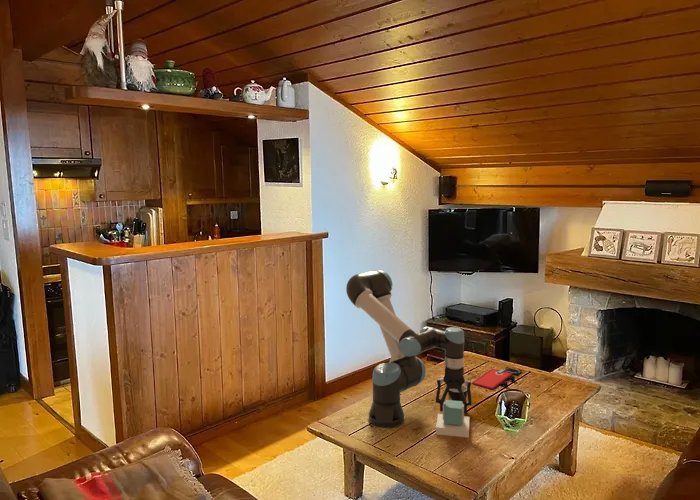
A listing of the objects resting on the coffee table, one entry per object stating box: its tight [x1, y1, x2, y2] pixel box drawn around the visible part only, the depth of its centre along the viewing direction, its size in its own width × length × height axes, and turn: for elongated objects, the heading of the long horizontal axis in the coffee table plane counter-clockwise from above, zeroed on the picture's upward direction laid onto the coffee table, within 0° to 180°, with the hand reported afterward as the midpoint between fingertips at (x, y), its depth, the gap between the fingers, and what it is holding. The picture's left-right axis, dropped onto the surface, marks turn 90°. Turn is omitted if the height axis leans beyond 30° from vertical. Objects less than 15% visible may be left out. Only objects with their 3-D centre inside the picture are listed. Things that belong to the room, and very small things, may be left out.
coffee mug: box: [447, 384, 468, 401], centre depth 241 cm, size 12×9×10 cm
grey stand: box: [435, 413, 470, 439], centre depth 223 cm, size 13×12×3 cm
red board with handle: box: [471, 366, 523, 391], centre depth 273 cm, size 30×3×15 cm
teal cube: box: [444, 399, 463, 425], centre depth 222 cm, size 7×7×7 cm
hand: (453, 419), depth 222 cm, fingers closed on teal cube, 7 cm apart
